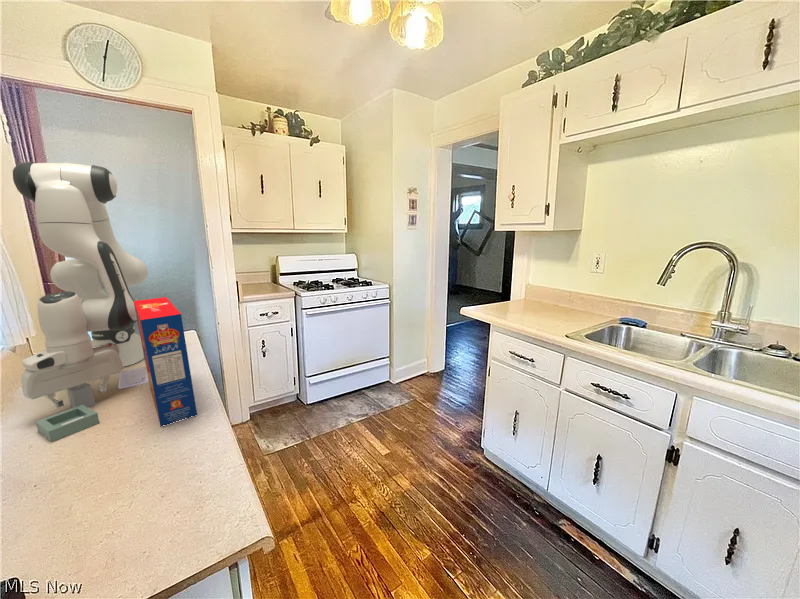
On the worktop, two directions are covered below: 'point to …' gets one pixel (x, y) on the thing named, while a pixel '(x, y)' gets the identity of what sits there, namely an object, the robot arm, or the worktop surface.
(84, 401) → the block
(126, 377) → the mobile phone
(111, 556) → the worktop surface
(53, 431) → the green square tray
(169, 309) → the pasta box
